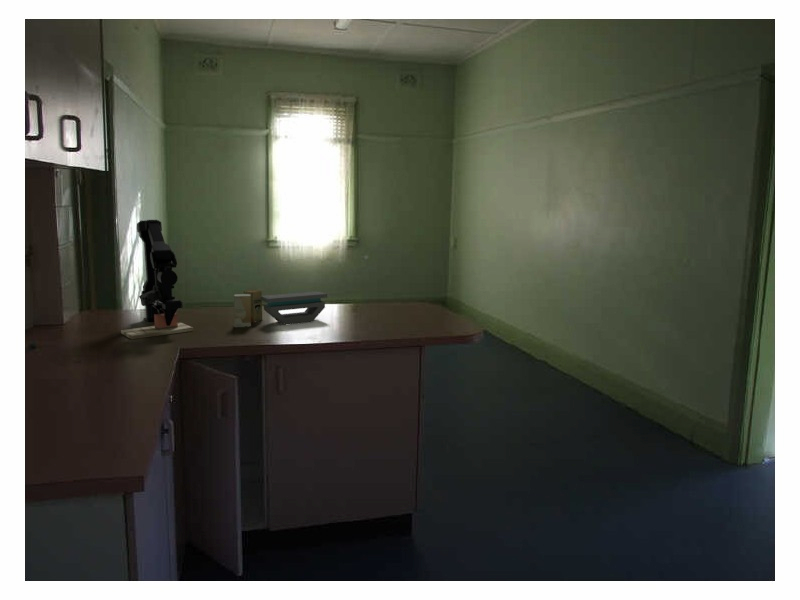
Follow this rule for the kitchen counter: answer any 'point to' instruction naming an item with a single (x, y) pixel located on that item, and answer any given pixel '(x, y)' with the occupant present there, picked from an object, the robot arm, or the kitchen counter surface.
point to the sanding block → (164, 321)
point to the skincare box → (242, 310)
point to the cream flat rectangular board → (154, 331)
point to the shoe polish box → (255, 304)
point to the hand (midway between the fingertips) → (166, 324)
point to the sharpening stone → (295, 306)
